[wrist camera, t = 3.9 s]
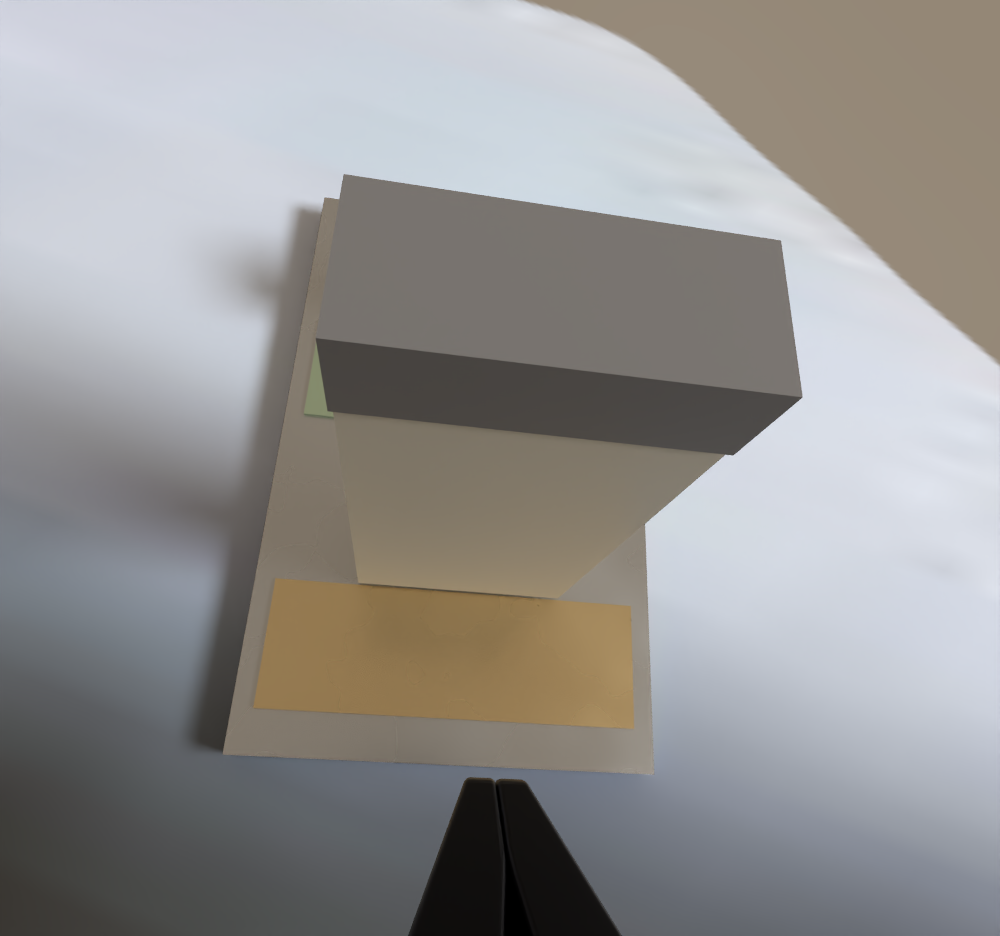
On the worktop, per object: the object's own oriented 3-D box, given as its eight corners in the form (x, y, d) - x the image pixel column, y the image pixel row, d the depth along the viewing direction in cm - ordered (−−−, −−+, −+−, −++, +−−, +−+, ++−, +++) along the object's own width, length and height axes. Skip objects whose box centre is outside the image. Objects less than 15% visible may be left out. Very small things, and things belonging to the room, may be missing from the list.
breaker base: (642, 773, 17) (707, 779, 14) (229, 754, 16) (187, 755, 13) (626, 258, 23) (669, 173, 20) (326, 215, 22) (316, 116, 19)
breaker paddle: (559, 600, 18) (802, 397, 7) (355, 585, 17) (315, 337, 7) (560, 521, 18) (781, 240, 8) (366, 503, 18) (343, 174, 8)
